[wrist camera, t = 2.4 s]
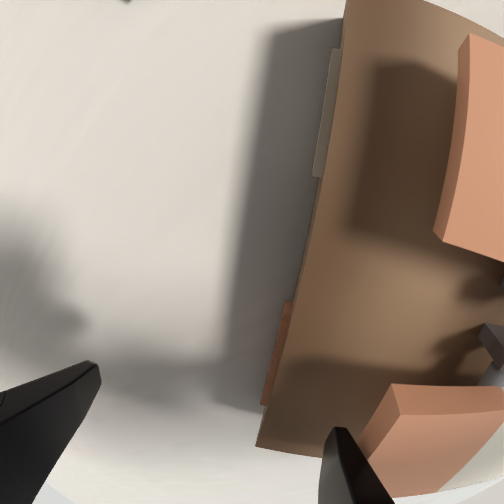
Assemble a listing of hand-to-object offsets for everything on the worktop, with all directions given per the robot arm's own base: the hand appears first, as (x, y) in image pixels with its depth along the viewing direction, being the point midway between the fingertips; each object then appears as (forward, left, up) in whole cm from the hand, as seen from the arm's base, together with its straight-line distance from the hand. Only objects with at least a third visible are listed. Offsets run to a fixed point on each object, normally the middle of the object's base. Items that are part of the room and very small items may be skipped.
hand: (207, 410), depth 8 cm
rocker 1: (-9, 0, -1) cm, 9 cm away
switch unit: (-9, -5, -5) cm, 12 cm away
